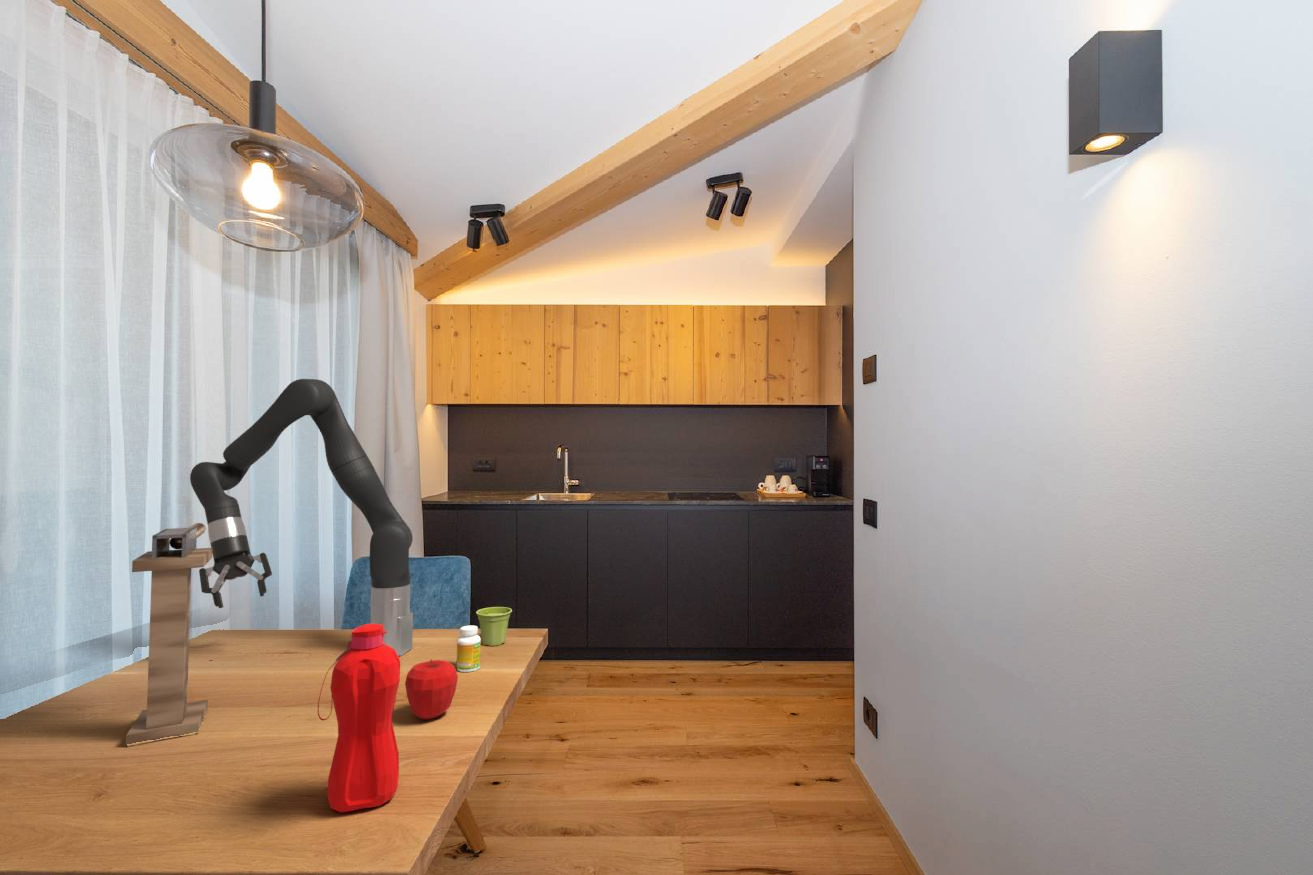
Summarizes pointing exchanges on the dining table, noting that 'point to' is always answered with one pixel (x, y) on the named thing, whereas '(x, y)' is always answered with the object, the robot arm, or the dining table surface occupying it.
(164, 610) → the wooden pedestal stand
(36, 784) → the dining table surface
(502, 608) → the plant pot
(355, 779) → the water bottle
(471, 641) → the supplement bottle
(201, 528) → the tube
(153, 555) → the grey hollow box
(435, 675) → the apple
